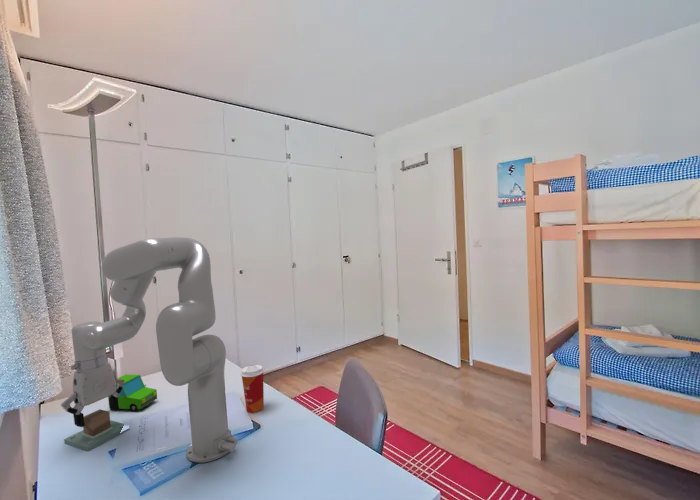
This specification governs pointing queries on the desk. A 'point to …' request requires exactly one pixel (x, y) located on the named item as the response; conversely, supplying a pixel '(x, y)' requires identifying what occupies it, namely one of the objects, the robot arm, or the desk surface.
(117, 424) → the baseplate
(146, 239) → the robot arm
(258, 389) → the paper cup
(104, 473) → the desk surface
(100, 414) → the walnut cube
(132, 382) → the toy car
